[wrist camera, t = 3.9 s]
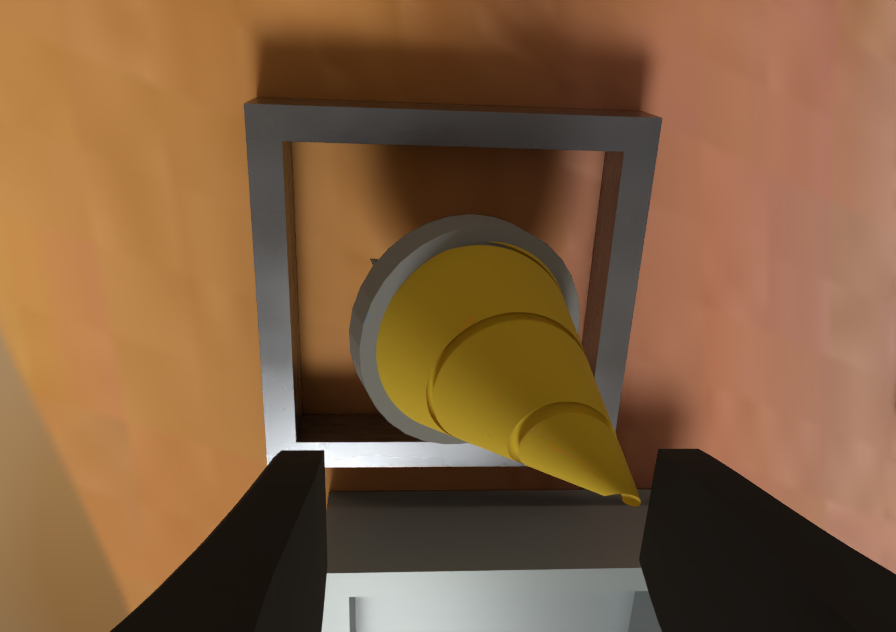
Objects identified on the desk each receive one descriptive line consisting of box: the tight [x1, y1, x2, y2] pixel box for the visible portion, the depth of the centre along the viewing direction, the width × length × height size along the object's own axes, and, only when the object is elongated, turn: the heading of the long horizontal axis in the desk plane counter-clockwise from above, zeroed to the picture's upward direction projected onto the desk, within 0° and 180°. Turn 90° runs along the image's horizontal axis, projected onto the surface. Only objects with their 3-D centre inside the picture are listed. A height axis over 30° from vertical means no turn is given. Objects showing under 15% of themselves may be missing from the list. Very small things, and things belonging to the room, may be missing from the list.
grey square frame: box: [244, 98, 662, 467], centre depth 19 cm, size 10×10×2 cm
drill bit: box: [349, 214, 641, 507], centre depth 15 cm, size 5×5×10 cm
